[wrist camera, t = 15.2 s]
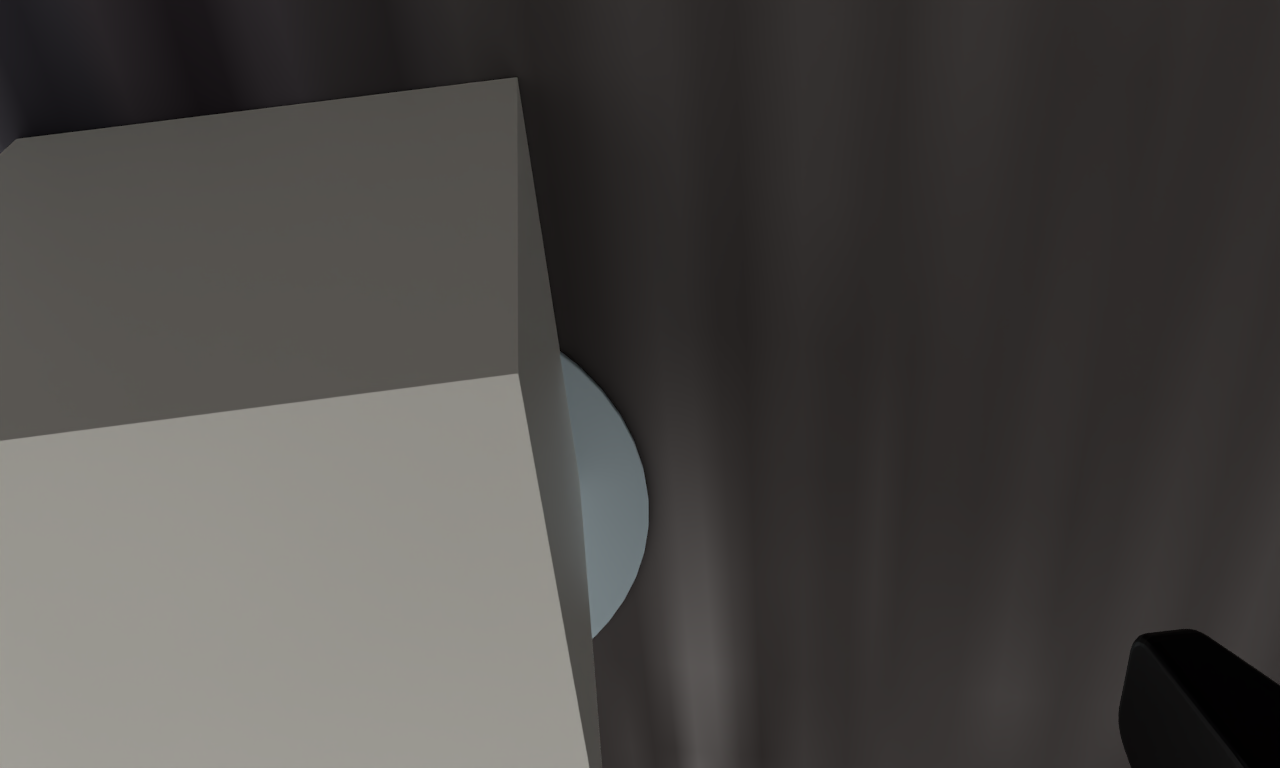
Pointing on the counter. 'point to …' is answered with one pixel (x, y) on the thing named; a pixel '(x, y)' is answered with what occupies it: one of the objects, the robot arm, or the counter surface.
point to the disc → (606, 493)
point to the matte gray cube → (288, 446)
